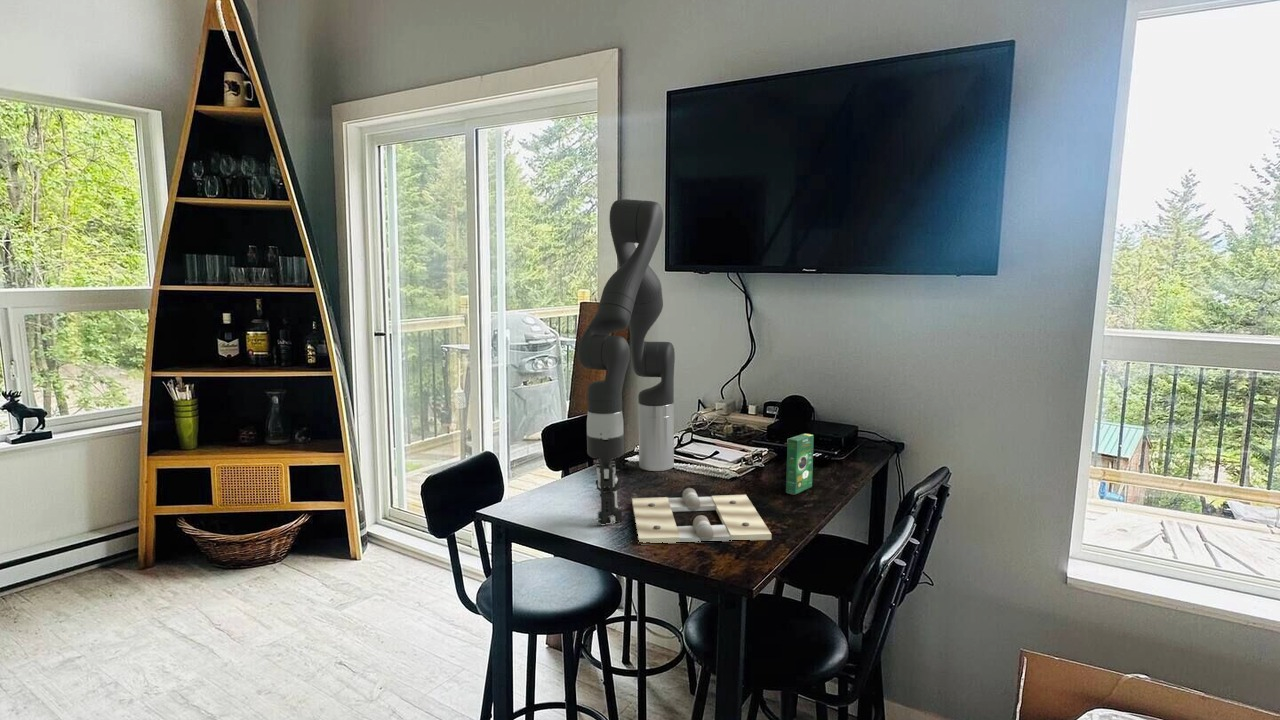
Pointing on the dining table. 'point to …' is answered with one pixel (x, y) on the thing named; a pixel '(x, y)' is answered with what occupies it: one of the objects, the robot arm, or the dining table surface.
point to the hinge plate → (698, 519)
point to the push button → (615, 511)
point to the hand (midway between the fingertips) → (606, 508)
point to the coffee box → (799, 463)
